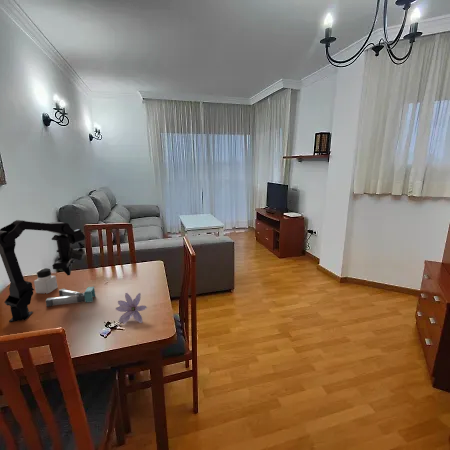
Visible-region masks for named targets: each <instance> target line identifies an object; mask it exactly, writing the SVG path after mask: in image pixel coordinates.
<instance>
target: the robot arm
mask: <svg viewBox="0 0 450 450" xmlns="http://www.w3.org/2000/svg"><path fill="white" fill-rule="evenodd" d="M25 230H26V231H27V230H29V231H43V232H44V231H46V232H49V233H52V234H53V233H54V235H53V236H52V238H51V240H52V241H56V245H57V246H56V247H57V250H56V253H58V257H57V260H56V261H55V262H54V263H53V264H52V266H51V267H52V269H53V270H62V271H63V272H64V273H65V274H66V275H67V276H71V274H72V273H71V272H72V266H73V265H72V264H73V263H74V262H75V261H76V260H78V261H82V260H83V259H84V256H85V254H86V253H85V250H84V248H83V247H80V248H78V249H74V247H73V246H72V245H74V244H78V243H81V242H84V241H85V240H86V235H85V233H84V232H83V231H82V229H80V228H79V229H78V228H77V229H75V230H74V229H73V228H72V227H71V226H70V224H69V223H67V222H60V221H54V222H39V221H38V222H37V221H27V220H20V219H16V220H14V221H12V222H11V223H10V224H7V225H6V226H4V227H1V228H0V257H1V260H2V262H3V267H4V268H5V271H6V275H7V277H8V280H9V283H10V284H9V288H8V290H9V291H8V292H9V294H8V296H7V298H6V299H5V301H4V303H5V305H6V306H8V307H10V313H11V316H12V317H11V318H10V319H9V320H8V322H9V323H12V322H22V321H26V320H27V319H29V317H30V316H32V314H33V310H31V311H29V305H31V301H32V297H33V296H34V291H35V288H33V283H32V282H31V281H27V280H25V277H24V276H23V275H24V274H23V271H22V269H21V267H20V263H19V260H18V258H17V255H16V252H15V249H16V245H17V243H16V240H17V239H18V237H20V236H21V235H22V233H23V232H24V231H25ZM59 234H60V235H59Z"/></svg>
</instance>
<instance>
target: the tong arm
mask: <svg viewBox="0 0 450 450" xmlns="http://www.w3.org/2000/svg"><path fill="white" fill-rule="evenodd" d="M58 293H59V294H58V295H59V297H64V296H73V295H78V294H79V293H80V291H75V290H68V289H66V288H61V289H59V290H58Z"/></svg>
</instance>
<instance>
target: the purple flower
mask: <svg viewBox="0 0 450 450" xmlns="http://www.w3.org/2000/svg"><path fill="white" fill-rule="evenodd" d="M124 298H125V300H118V301H117V303H118V304H117V305H119V306H117V307H116V308H115V310H116V311H117V312H121V313H123V312H125V313H123V314H122V315H121V316H120V317H119V319H118V322H117V323H118V324H119V322H120V323H122V324H123V325H124V324H126V323H127V322H129V320H130V319H131V318H132V317H133V319H134V321H136V322H138V323H140V324H143V317H142V314H141V313H140V312H142V311H145V310H146V309H147V308H148V307H147V306H146V305H142V304H141V305H139V304H140V301H141V292H138V294H136V296H135V298H134V299H133V298H132V297H131V295H130V294H129V293H128V292H125V294H124Z"/></svg>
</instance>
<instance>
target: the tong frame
mask: <svg viewBox="0 0 450 450" xmlns="http://www.w3.org/2000/svg"><path fill="white" fill-rule="evenodd" d="M77 303H78V304H79V303H86V301H85V294H84V292H79V294H78V295H73V296H57V297H47V298H46V300H45V305H46V307H47V308H49V307H53V306H59V305H68V304H69V305H70V304H77Z"/></svg>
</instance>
